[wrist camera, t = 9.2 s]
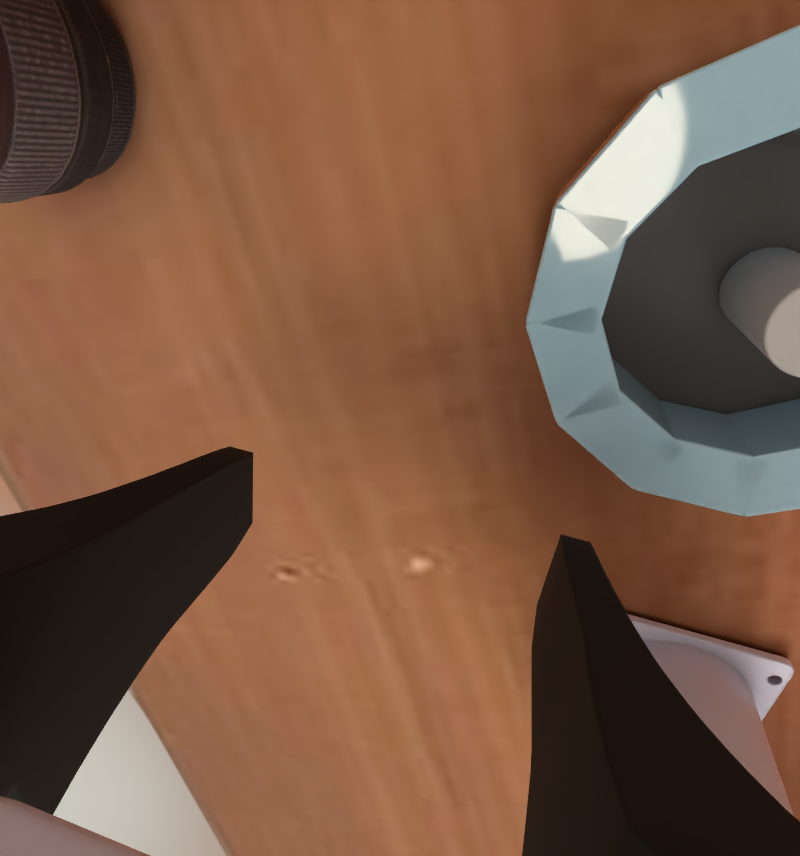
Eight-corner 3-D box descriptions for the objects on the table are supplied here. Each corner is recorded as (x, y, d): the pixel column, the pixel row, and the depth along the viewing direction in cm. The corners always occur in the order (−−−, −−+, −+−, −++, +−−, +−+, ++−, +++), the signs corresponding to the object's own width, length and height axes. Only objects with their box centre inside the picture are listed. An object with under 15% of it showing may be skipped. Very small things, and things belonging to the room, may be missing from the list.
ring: (859, 501, 18) (908, 558, 16) (501, 417, 20) (491, 456, 18) (1130, 77, 13) (1274, 58, 10) (598, 20, 15) (606, -9, 12)
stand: (841, 439, 19) (935, 537, 14) (570, 382, 20) (571, 453, 15) (1011, 140, 14) (1230, 133, 10) (652, 98, 16) (689, 74, 11)
